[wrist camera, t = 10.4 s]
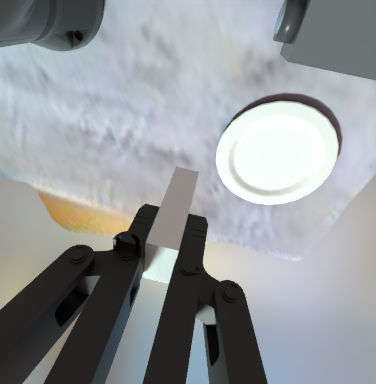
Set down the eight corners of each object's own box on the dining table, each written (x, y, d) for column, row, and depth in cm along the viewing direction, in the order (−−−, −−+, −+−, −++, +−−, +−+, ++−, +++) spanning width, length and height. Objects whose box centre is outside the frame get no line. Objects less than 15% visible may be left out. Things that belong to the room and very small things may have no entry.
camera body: (265, 50, 35) (271, 59, 29) (299, -57, 28) (315, -76, 22) (391, 77, 34) (424, 91, 28) (457, -26, 27) (519, -37, 21)
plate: (352, 173, 44) (355, 178, 43) (248, 213, 54) (248, 218, 52) (309, 69, 36) (311, 72, 34) (195, 139, 45) (193, 142, 44)
